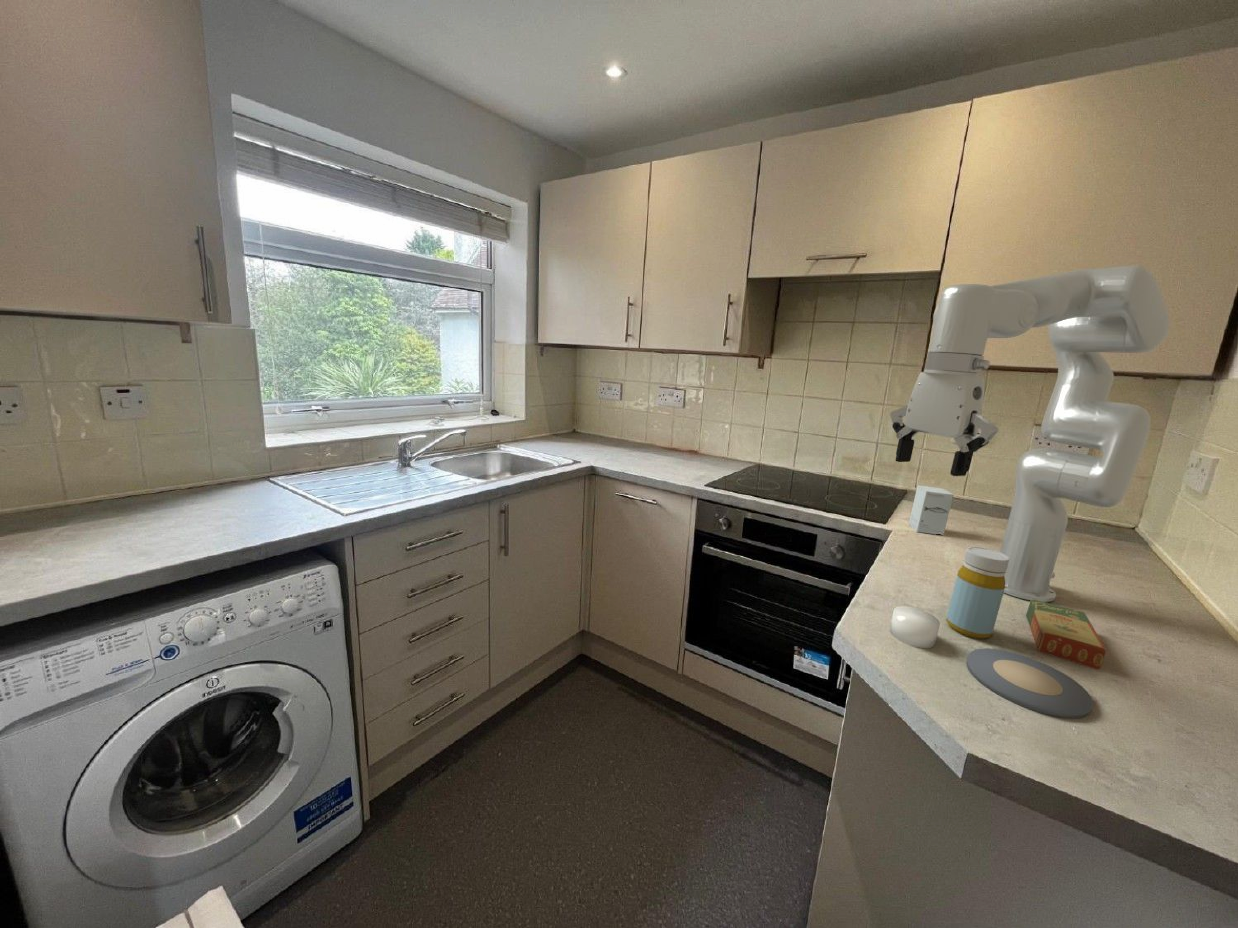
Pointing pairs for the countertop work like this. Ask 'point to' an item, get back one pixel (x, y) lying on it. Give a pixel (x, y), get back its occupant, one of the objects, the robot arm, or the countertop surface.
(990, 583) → the bottle
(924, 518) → the supplement box
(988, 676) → the disc
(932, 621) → the white smooth round part
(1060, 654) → the carton
